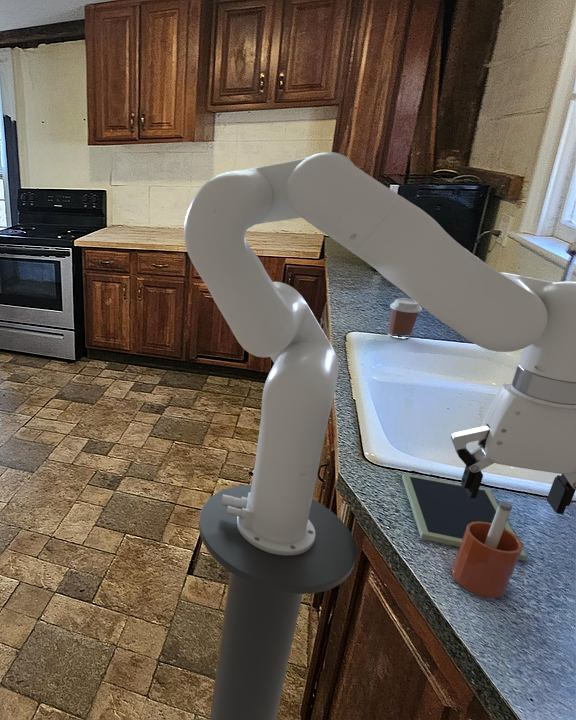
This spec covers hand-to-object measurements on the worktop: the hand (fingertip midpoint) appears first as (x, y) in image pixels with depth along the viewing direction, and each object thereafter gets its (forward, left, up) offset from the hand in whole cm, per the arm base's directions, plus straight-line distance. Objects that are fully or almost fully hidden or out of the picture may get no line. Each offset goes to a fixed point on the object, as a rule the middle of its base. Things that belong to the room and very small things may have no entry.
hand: (510, 500), depth 71 cm
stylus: (0, 0, -14) cm, 14 cm away
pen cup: (0, 0, -14) cm, 14 cm away
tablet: (+1, +16, -14) cm, 22 cm away
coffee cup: (+7, +115, -15) cm, 116 cm away
